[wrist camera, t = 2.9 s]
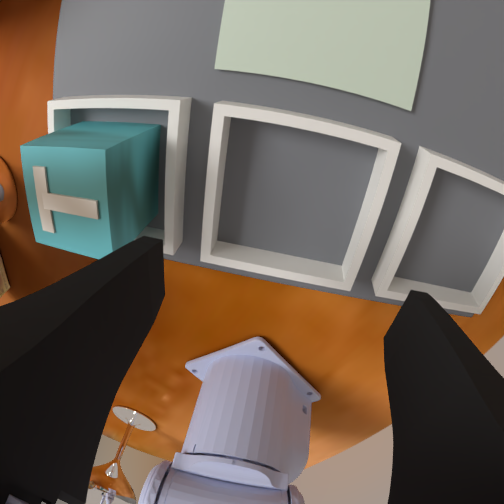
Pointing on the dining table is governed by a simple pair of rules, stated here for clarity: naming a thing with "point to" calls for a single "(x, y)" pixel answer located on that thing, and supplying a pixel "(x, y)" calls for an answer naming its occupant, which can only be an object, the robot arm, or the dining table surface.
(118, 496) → the wineglass
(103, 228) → the teal letter cube
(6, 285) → the candy box
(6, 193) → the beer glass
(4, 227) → the dining table surface
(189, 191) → the organizer board
